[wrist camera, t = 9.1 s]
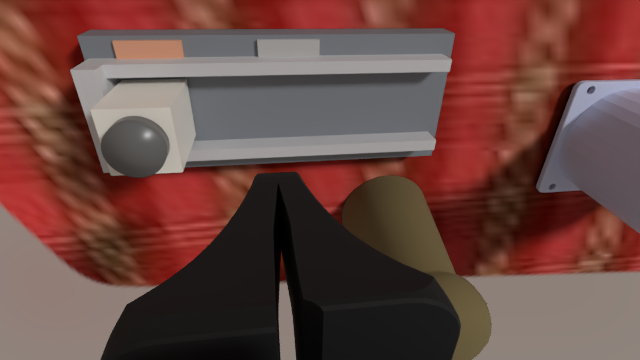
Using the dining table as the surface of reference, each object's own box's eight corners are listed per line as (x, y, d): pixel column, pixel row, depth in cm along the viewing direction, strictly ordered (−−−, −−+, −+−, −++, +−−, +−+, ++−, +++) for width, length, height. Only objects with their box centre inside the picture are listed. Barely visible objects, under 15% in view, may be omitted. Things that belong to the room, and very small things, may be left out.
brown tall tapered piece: (348, 252, 28) (392, 402, 19) (334, 187, 25) (379, 329, 16) (426, 233, 28) (508, 373, 19) (422, 166, 25) (520, 294, 16)
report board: (442, 28, 20) (474, 41, 17) (422, 144, 24) (445, 171, 21) (89, 29, 18) (56, 45, 15) (126, 157, 22) (104, 190, 19)
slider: (186, 78, 18) (166, 114, 14) (195, 134, 20) (179, 181, 16) (121, 80, 18) (81, 117, 14) (136, 136, 20) (104, 185, 16)
